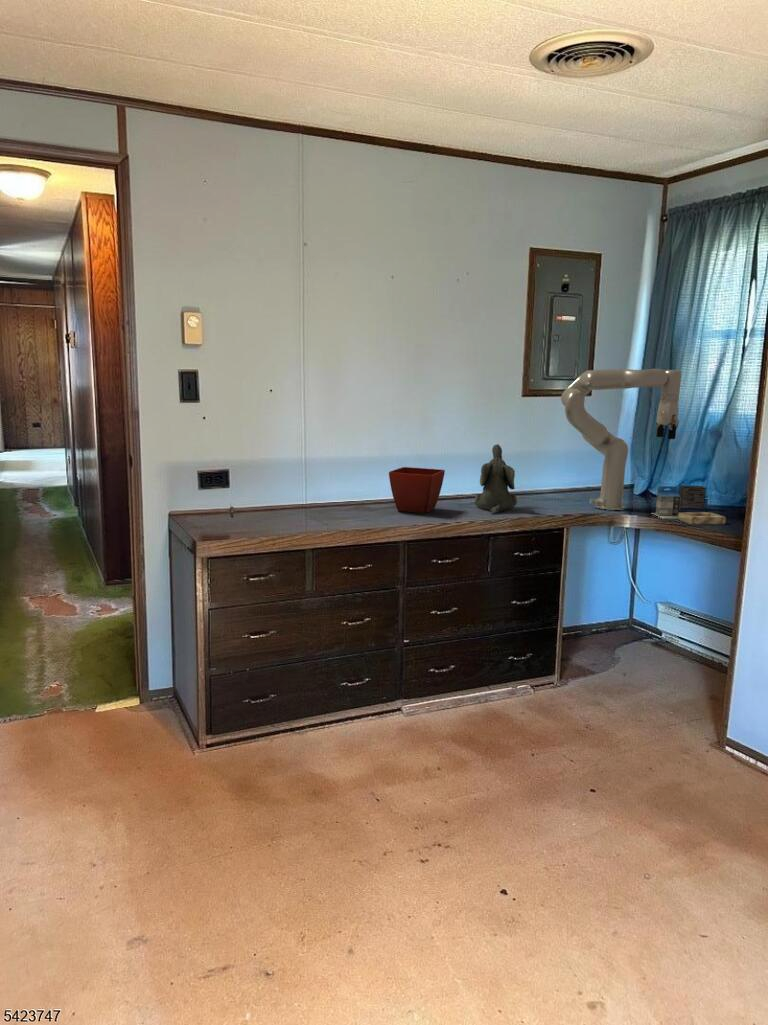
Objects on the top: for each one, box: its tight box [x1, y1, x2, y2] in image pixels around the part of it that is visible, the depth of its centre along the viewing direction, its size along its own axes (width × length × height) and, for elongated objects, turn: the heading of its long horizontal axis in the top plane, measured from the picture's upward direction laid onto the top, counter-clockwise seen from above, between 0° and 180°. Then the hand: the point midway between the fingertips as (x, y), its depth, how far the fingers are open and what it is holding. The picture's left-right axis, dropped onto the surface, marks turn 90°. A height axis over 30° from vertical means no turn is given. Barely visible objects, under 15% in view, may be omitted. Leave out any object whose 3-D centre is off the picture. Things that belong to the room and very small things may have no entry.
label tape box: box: [655, 485, 680, 516], centre depth 324 cm, size 9×4×12 cm, turn 95°
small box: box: [677, 484, 707, 511], centre depth 346 cm, size 11×6×10 cm, turn 84°
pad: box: [650, 512, 679, 520], centre depth 325 cm, size 10×10×1 cm
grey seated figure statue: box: [474, 443, 518, 514], centre depth 329 cm, size 19×21×27 cm
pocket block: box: [677, 511, 727, 525], centre depth 315 cm, size 15×10×3 cm, turn 99°
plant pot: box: [388, 466, 446, 514], centre depth 320 cm, size 19×19×17 cm
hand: (665, 438), depth 334 cm, fingers open, 9 cm apart
